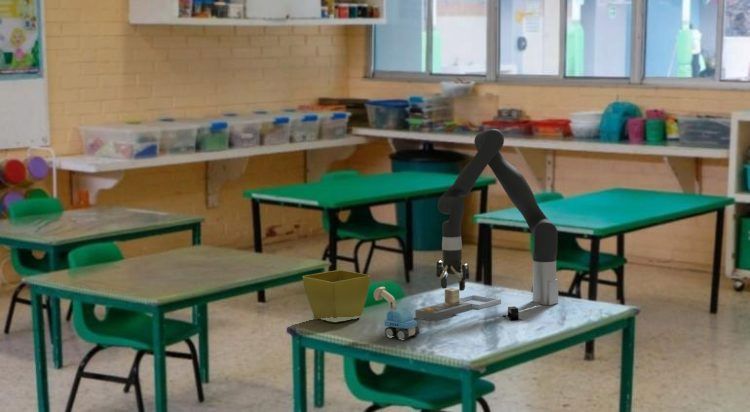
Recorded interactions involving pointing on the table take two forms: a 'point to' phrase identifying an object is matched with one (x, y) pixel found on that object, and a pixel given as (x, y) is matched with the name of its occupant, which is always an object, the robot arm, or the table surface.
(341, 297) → the flower pot
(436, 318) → the power strip
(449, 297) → the plug peg
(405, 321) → the toy excavator
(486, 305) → the tray
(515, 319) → the black block
